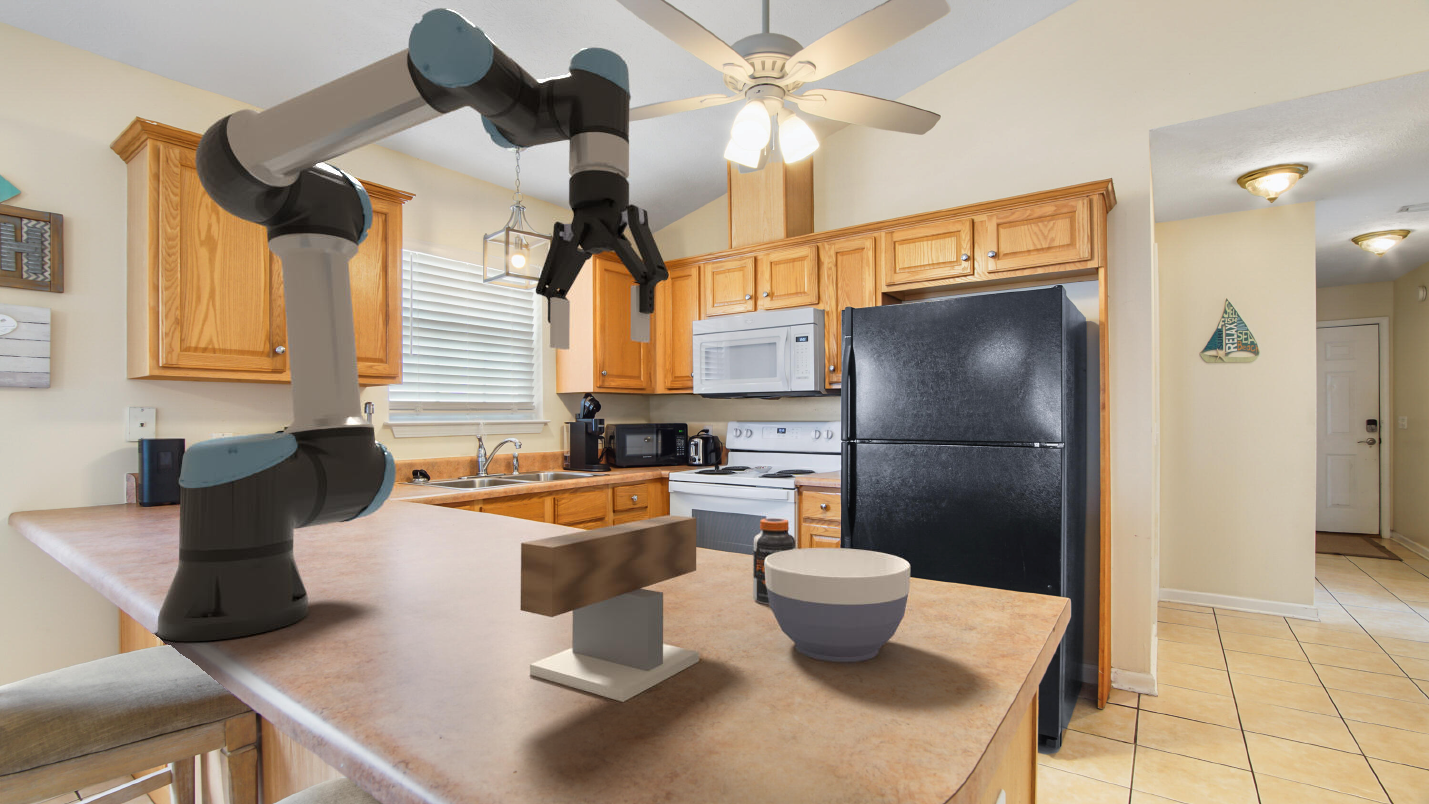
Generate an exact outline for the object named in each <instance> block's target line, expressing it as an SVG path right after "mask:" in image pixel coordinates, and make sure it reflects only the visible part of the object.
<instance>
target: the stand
mask: <svg viewBox="0 0 1429 804" xmlns="http://www.w3.org/2000/svg"><path fill="white" fill-rule="evenodd" d="M571 645H572V647H569V648H568V649H565V650H563V651H561V652H558V653H555V654H553V655H550V656H548V657H545V658H543V659H540V660H538V661H535V662H532V663H530V664H529V675H531V676H533V677H537V678H540V679H544V680H548V681H551V682H554V683H558V684H561V685H564V686H567V687H571V688H575V689H577V690H580V691H583V692H584V691H585V692H588V693H592V694H595V695H597V696H602V697H604V698H608V699H612V700H615V701H619V702H622V703H624V702H626V701H628V700H630V699H631V698H633V697H635V696H637V695H639V694H641V693H643V692H645V691H646V690H648V689H650V688H653V686H656V685H657V684H659V683H661V682H663V681H665V680H667V679H668V678H671V677H672V676H674V675H676V674H678V673H679V672H682V671H683V670H686V669H687V668H689V667H691V666H693V665H695V664H696V663H699V661H700V659H699V655H700V654H699V653H700V652H699V651H697V650H692V649H688V648H683V647H679V646H674V645H669V644H666V643H664V592H662V591H656V590H650V589H644V588H641V589H638V590H635V591H631V592H628V593H625V594H622V595H619V596H616V597H613V598H610V599H607V600H604V601H601V602H597V603H594V604H591V605H588V606H585V607H582V608H579V609H576V610H573V611H572V644H571Z"/></svg>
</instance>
